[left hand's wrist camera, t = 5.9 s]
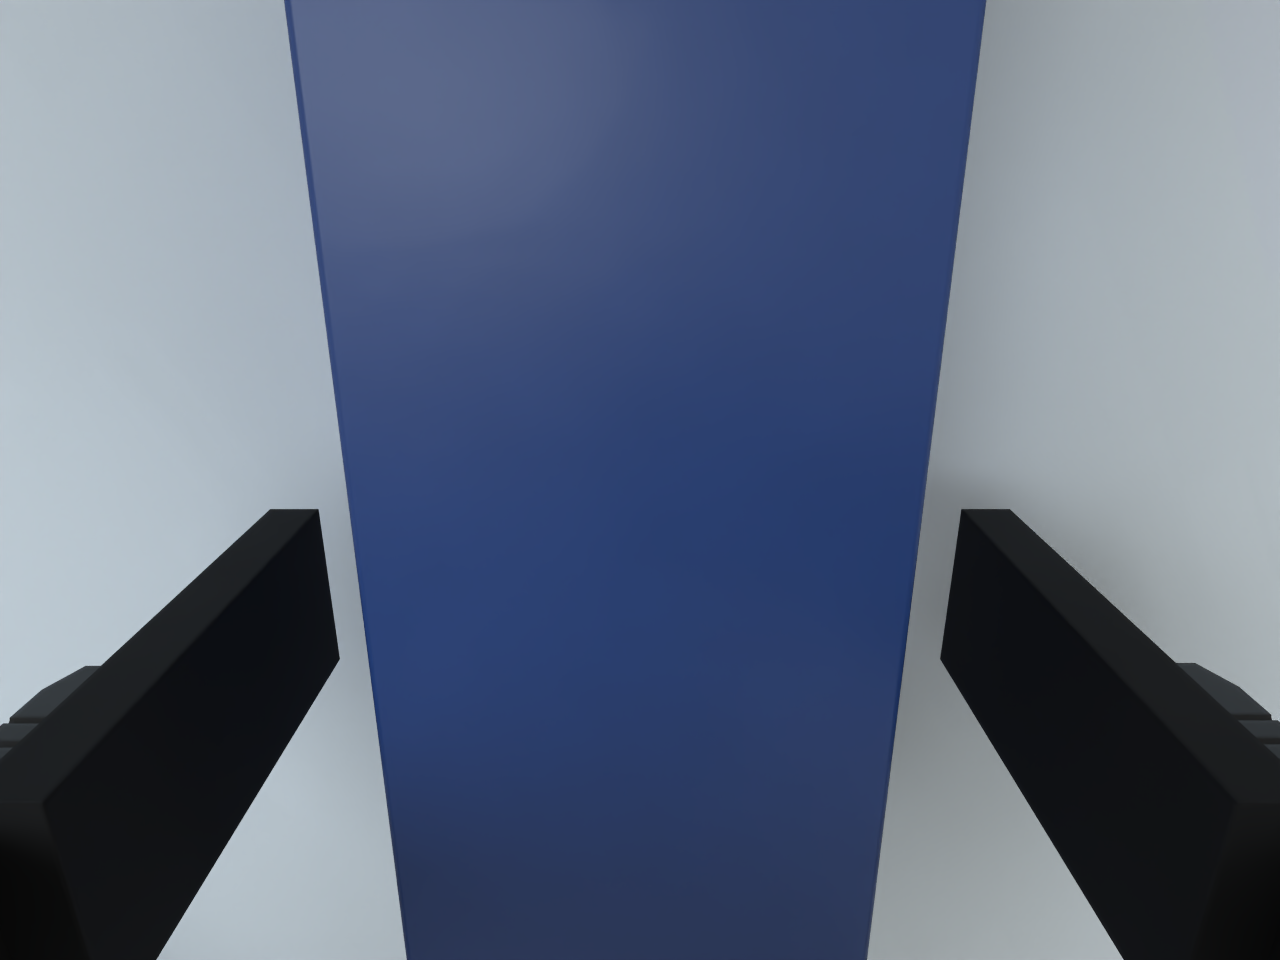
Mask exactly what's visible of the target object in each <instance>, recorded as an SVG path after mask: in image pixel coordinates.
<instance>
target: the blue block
mask: <svg viewBox="0 0 1280 960" xmlns="http://www.w3.org/2000/svg"><path fill="white" fill-rule="evenodd" d="M284 3H285V11H286V19H287V27H288V34H289V42H290V50H291V58H292V66H293V74H294V81H295V89H296V97H297V105H298V113H299V120H300V128H301V136H302V144H303V152H304V159H305V167H306V175H307V183H308V191H309V199H310V206H311V214H312V222H313V230H314V238H315V245H316V253H317V261H318V269H319V277H320V285H321V292H322V300H323V308H324V316H325V324H326V331H327V339H328V347H329V355H330V363H331V370H332V378H333V386H334V394H335V402H336V410H337V417H338V425H339V433H340V441H341V449H342V456H343V464H344V472H345V480H346V488H347V495H348V503H349V511H350V519H351V527H352V535H353V542H354V550H355V558H356V566H357V574H358V581H359V589H360V597H361V605H362V613H363V620H364V628H365V636H366V644H367V652H368V660H369V667H370V675H371V683H372V691H373V699H374V706H375V714H376V722H377V730H378V738H379V746H380V753H381V761H382V769H383V777H384V785H385V792H386V800H387V808H388V816H389V824H390V831H391V839H392V847H393V855H394V863H395V871H396V878H397V886H398V894H399V902H400V910H401V917H402V925H403V933H404V941H405V949H406V956H407V960H867V954H868V946H869V938H870V930H871V922H872V914H873V906H874V898H875V890H876V882H877V874H878V866H879V858H880V850H881V842H882V834H883V826H884V818H885V810H886V802H887V794H888V786H889V778H890V770H891V762H892V754H893V746H894V738H895V730H896V722H897V713H898V705H899V697H900V689H901V681H902V673H903V665H904V657H905V649H906V641H907V633H908V625H909V617H910V609H911V601H912V593H913V585H914V577H915V569H916V561H917V553H918V545H919V537H920V529H921V521H922V513H923V505H924V497H925V489H926V481H927V472H928V464H929V456H930V448H931V440H932V432H933V424H934V416H935V408H936V400H937V392H938V384H939V376H940V368H941V360H942V352H943V344H944V336H945V328H946V320H947V312H948V304H949V296H950V288H951V280H952V272H953V264H954V256H955V248H956V240H957V231H958V223H959V215H960V207H961V199H962V191H963V183H964V175H965V167H966V159H967V151H968V143H969V135H970V127H971V119H972V111H973V103H974V95H975V87H976V79H977V71H978V63H979V55H980V47H981V39H982V31H983V23H984V15H985V7H986V0H284Z"/></svg>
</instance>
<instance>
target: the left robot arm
mask: <svg viewBox="0 0 1280 960" xmlns="http://www.w3.org/2000/svg"><path fill="white" fill-rule="evenodd" d="M339 659H340V657H339V650H338V643H337V636H336V629H335V622H334V615H333V608H332V601H331V594H330V587H329V580H328V573H327V566H326V559H325V552H324V545H323V538H322V531H321V524H320V517H319V510H318V509H270V510H269V511H268V512H267V513H266V514H265V515H264V516H263V517H261V518H260V519H259V520H258V521H257V522H256V523H255V524H254V525H253V526H252V527H251V528H250V529H248V530H247V531H246V532H245V533H244V534H243V535H242V536H241V537H240V538H239V539H238V540H237V541H236V542H234V543H233V544H232V545H231V546H230V547H229V548H228V549H227V550H226V551H225V552H224V553H223V554H221V555H220V556H219V557H218V558H217V559H216V560H215V561H214V562H213V563H212V564H211V565H210V566H208V567H207V568H206V569H205V570H204V571H203V572H202V573H201V574H200V575H199V576H198V577H197V578H196V579H194V580H193V581H192V582H191V583H190V584H189V585H188V586H187V587H186V588H185V589H184V590H183V591H181V592H180V593H179V594H178V595H177V596H176V597H175V598H174V599H173V600H172V601H171V602H170V603H168V604H167V605H166V606H165V607H164V608H163V609H162V610H161V611H160V612H159V613H158V614H157V615H156V616H154V617H153V618H152V619H151V620H150V621H149V622H148V623H147V624H146V625H145V626H144V627H143V628H141V629H140V630H139V631H138V632H137V633H136V634H135V635H134V636H133V637H132V638H131V639H130V640H128V641H127V642H126V643H125V644H124V645H123V646H122V647H121V648H120V649H119V650H118V651H117V652H116V653H114V654H113V655H112V656H111V657H110V658H109V659H108V660H107V661H106V662H105V663H104V664H103V665H101V666H85V667H83V668H81V669H79V670H77V671H76V672H74V673H72V674H70V675H68V676H66V677H65V678H63V679H61V680H59V681H57V682H55V683H54V684H52V685H50V686H48V687H46V688H44V689H43V690H41V691H40V692H39V693H38V694H37V695H35V696H34V697H33V698H32V699H31V700H30V701H29V702H27V703H26V704H25V705H24V706H23V707H22V708H21V709H19V710H18V711H17V712H16V713H15V714H14V715H13V716H11V717H10V722H9V724H2V725H1V726H0V960H156V959H157V958H158V956H159V954H160V953H161V951H162V949H163V948H164V946H165V944H166V943H167V941H168V940H169V938H170V936H171V935H172V933H173V931H174V930H175V928H176V926H177V925H178V923H179V922H180V920H181V918H182V917H183V915H184V913H185V912H186V910H187V908H188V907H189V905H190V904H191V902H192V900H193V899H194V897H195V895H196V894H197V892H198V890H199V889H200V887H201V886H202V884H203V882H204V881H205V879H206V877H207V876H208V874H209V872H210V871H211V869H212V867H213V866H214V864H215V863H216V861H217V859H218V858H219V856H220V854H221V853H222V851H223V849H224V848H225V846H226V845H227V843H228V841H229V840H230V838H231V836H232V835H233V833H234V831H235V830H236V828H237V827H238V825H239V823H240V822H241V820H242V818H243V817H244V815H245V813H246V812H247V810H248V809H249V807H250V805H251V804H252V802H253V800H254V799H255V797H256V795H257V794H258V792H259V791H260V789H261V787H262V786H263V784H264V782H265V781H266V779H267V777H268V776H269V774H270V772H271V771H272V769H273V768H274V766H275V764H276V763H277V761H278V759H279V758H280V756H281V754H282V753H283V751H284V750H285V748H286V746H287V745H288V743H289V741H290V740H291V738H292V736H293V735H294V733H295V732H296V730H297V728H298V727H299V725H300V723H301V722H302V720H303V718H304V717H305V715H306V714H307V712H308V710H309V709H310V707H311V705H312V704H313V702H314V700H315V699H316V697H317V696H318V694H319V692H320V691H321V689H322V687H323V686H324V684H325V682H326V681H327V679H328V678H329V676H330V674H331V673H332V671H333V669H334V668H335V666H336V664H337V663H338V661H339ZM940 660H941V661H942V663H943V664H944V666H945V668H946V669H947V671H948V673H949V674H950V676H951V678H952V679H953V681H954V682H955V684H956V686H957V687H958V689H959V691H960V692H961V694H962V696H963V697H964V699H965V700H966V702H967V704H968V705H969V707H970V709H971V710H972V712H973V714H974V715H975V717H976V718H977V720H978V722H979V723H980V725H981V727H982V728H983V730H984V732H985V733H986V735H987V736H988V738H989V740H990V741H991V743H992V745H993V746H994V748H995V750H996V751H997V753H998V755H999V756H1000V758H1001V759H1002V761H1003V763H1004V764H1005V766H1006V768H1007V769H1008V771H1009V773H1010V774H1011V776H1012V777H1013V779H1014V781H1015V782H1016V784H1017V786H1018V787H1019V789H1020V791H1021V792H1022V794H1023V795H1024V797H1025V799H1026V800H1027V802H1028V804H1029V805H1030V807H1031V809H1032V810H1033V812H1034V813H1035V815H1036V817H1037V818H1038V820H1039V822H1040V823H1041V825H1042V827H1043V828H1044V830H1045V831H1046V833H1047V835H1048V836H1049V838H1050V840H1051V841H1052V843H1053V845H1054V846H1055V848H1056V850H1057V851H1058V853H1059V854H1060V856H1061V858H1062V859H1063V861H1064V863H1065V864H1066V866H1067V868H1068V869H1069V871H1070V872H1071V874H1072V876H1073V877H1074V879H1075V881H1076V882H1077V884H1078V886H1079V887H1080V889H1081V890H1082V892H1083V894H1084V895H1085V897H1086V899H1087V900H1088V902H1089V904H1090V905H1091V907H1092V908H1093V910H1094V912H1095V913H1096V915H1097V917H1098V918H1099V920H1100V922H1101V923H1102V925H1103V926H1104V928H1105V930H1106V931H1107V933H1108V935H1109V936H1110V938H1111V940H1112V941H1113V943H1114V945H1115V946H1116V948H1117V949H1118V951H1119V953H1120V954H1121V956H1122V958H1123V959H1124V960H1280V722H1279V721H1278V720H1272V719H1271V714H1270V713H1268V712H1267V711H1266V710H1265V709H1264V708H1263V707H1262V706H1260V705H1259V704H1258V703H1257V702H1256V701H1255V700H1253V699H1252V698H1251V697H1250V696H1249V695H1248V694H1247V693H1245V692H1244V691H1243V690H1242V689H1241V688H1240V687H1238V686H1236V685H1235V684H1233V683H1231V682H1229V681H1227V680H1225V679H1223V678H1222V677H1220V676H1218V675H1216V674H1214V673H1212V672H1211V671H1209V670H1207V669H1205V668H1203V667H1201V666H1199V665H1198V664H1196V663H1175V662H1174V661H1173V660H1172V659H1171V658H1170V657H1169V656H1168V655H1167V654H1166V653H1164V652H1163V651H1162V650H1161V649H1160V648H1159V647H1158V646H1157V645H1156V644H1155V643H1154V642H1153V641H1151V640H1150V639H1149V638H1148V637H1147V636H1146V635H1145V634H1144V633H1143V632H1142V631H1141V630H1140V629H1139V628H1137V627H1136V626H1135V625H1134V624H1133V623H1132V622H1131V621H1130V620H1129V619H1128V618H1127V617H1126V616H1124V615H1123V614H1122V613H1121V612H1120V611H1119V610H1118V609H1117V608H1116V607H1115V606H1114V605H1113V604H1111V603H1110V602H1109V601H1108V600H1107V599H1106V598H1105V597H1104V596H1103V595H1102V594H1101V593H1100V592H1099V591H1097V590H1096V589H1095V588H1094V587H1093V586H1092V585H1091V584H1090V583H1089V582H1088V581H1087V580H1086V579H1084V578H1083V577H1082V576H1081V575H1080V574H1079V573H1078V572H1077V571H1076V570H1075V569H1074V568H1073V567H1071V566H1070V565H1069V564H1068V563H1067V562H1066V561H1065V560H1064V559H1063V558H1062V557H1061V556H1060V555H1059V554H1057V553H1056V552H1055V551H1054V550H1053V549H1052V548H1051V547H1050V546H1049V545H1048V544H1047V543H1046V542H1044V541H1043V540H1042V539H1041V538H1040V537H1039V536H1038V535H1037V534H1036V533H1035V532H1034V531H1033V530H1032V529H1030V528H1029V527H1028V526H1027V525H1026V524H1025V523H1024V522H1023V521H1022V520H1021V519H1020V518H1019V517H1017V516H1016V515H1015V514H1014V513H1013V512H1012V511H1011V510H1010V509H962V510H961V517H960V524H959V531H958V538H957V545H956V552H955V559H954V566H953V573H952V580H951V587H950V594H949V601H948V608H947V615H946V622H945V629H944V636H943V643H942V650H941V657H940Z"/></svg>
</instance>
